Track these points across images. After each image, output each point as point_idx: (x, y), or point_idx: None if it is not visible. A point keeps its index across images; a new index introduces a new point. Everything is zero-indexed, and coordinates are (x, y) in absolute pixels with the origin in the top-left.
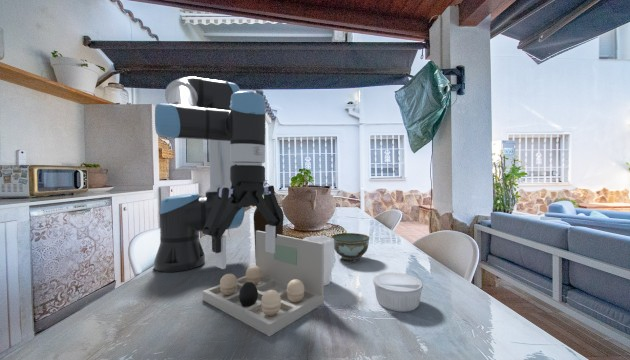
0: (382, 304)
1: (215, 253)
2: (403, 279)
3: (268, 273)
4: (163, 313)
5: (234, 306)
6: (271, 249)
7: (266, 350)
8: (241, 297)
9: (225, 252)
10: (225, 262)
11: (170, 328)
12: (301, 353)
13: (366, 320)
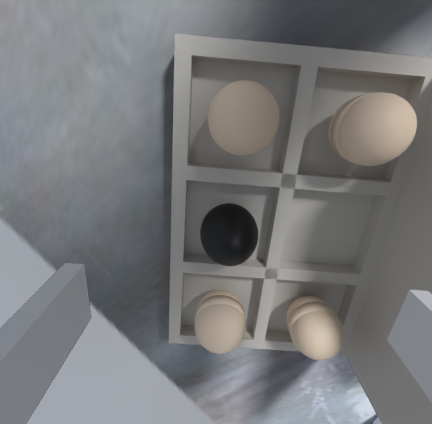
0: (377, 421)
1: (15, 315)
2: None
3: (425, 154)
4: (45, 17)
5: (172, 231)
6: (404, 348)
7: (142, 341)
8: (200, 234)
9: (39, 396)
10: (73, 341)
11: (37, 132)
12: (172, 379)
13: (312, 410)
